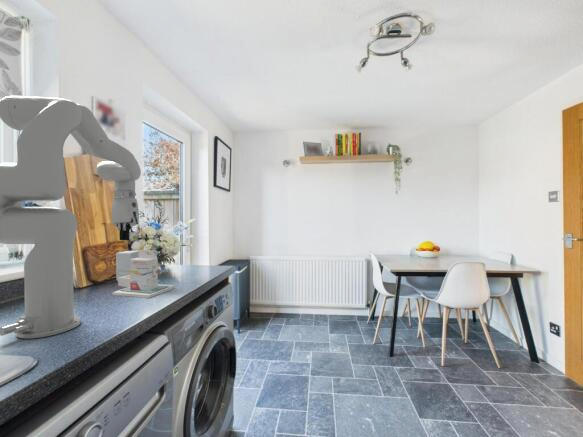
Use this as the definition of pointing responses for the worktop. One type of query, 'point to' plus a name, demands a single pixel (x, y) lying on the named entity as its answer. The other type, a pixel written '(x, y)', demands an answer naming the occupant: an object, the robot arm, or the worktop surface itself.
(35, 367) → the worktop surface
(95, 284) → the worktop surface
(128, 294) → the picture board
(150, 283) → the ink cartridge box
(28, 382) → the worktop surface
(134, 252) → the supplement box
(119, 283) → the button housing
